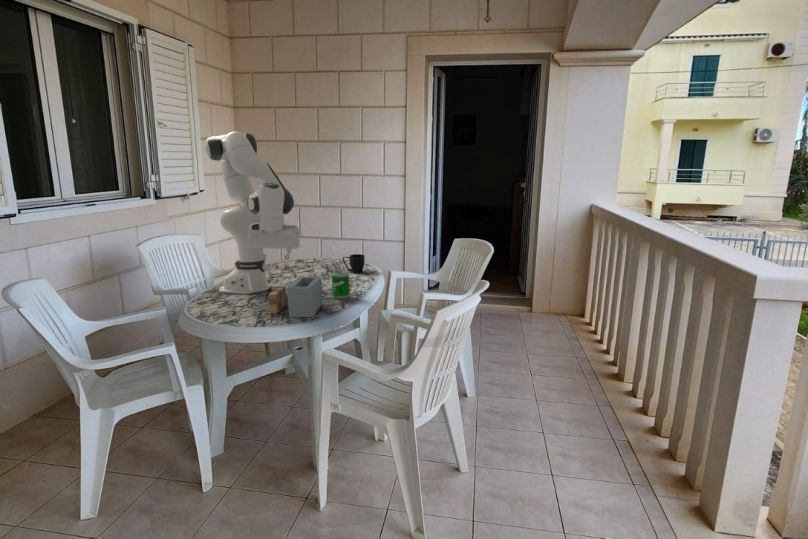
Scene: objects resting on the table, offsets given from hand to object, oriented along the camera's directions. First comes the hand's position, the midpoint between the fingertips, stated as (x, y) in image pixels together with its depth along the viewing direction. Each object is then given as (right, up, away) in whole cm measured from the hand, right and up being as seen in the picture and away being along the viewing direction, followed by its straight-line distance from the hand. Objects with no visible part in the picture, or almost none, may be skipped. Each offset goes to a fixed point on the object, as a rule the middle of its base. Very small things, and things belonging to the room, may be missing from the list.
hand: (275, 259), depth 181 cm
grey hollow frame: (+12, -21, +3) cm, 24 cm away
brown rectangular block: (0, -21, +5) cm, 21 cm away
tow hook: (+22, -14, +33) cm, 42 cm away
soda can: (+23, -17, +22) cm, 36 cm away
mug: (+24, -6, +68) cm, 73 cm away
